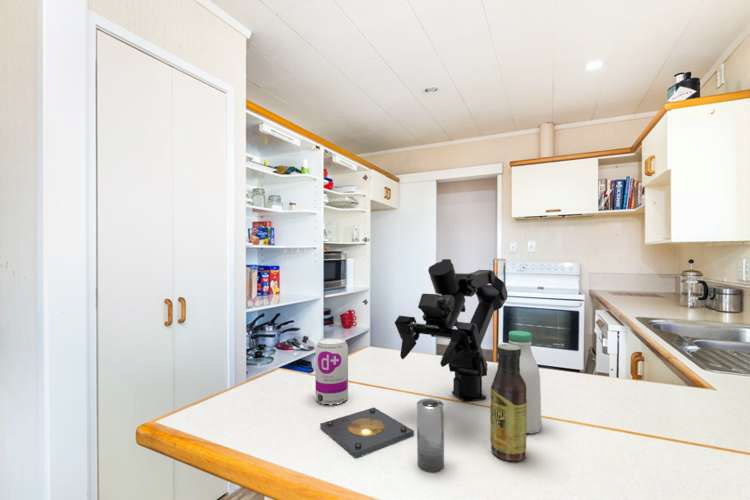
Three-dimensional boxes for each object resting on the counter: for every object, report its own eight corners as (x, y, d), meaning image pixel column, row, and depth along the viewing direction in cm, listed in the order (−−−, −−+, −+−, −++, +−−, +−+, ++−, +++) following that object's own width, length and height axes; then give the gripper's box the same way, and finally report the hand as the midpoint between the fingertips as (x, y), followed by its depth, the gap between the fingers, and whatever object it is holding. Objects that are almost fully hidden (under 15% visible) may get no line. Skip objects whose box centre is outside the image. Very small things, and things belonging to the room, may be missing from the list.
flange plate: (374, 411, 84) (374, 405, 84) (413, 435, 72) (413, 428, 72) (320, 428, 76) (320, 421, 76) (355, 458, 64) (355, 450, 64)
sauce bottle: (485, 445, 68) (483, 341, 69) (516, 444, 69) (515, 340, 69) (500, 465, 62) (498, 350, 62) (534, 463, 62) (532, 349, 63)
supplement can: (342, 407, 86) (342, 345, 86) (310, 405, 88) (310, 343, 88) (351, 395, 94) (351, 338, 94) (322, 392, 96) (322, 336, 96)
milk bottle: (539, 421, 79) (537, 330, 79) (543, 437, 71) (541, 337, 72) (501, 416, 81) (500, 327, 82) (502, 431, 74) (501, 334, 74)
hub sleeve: (435, 455, 65) (435, 396, 65) (449, 469, 61) (448, 406, 61) (413, 460, 64) (412, 400, 64) (425, 474, 59) (424, 410, 60)
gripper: (402, 281, 85) (370, 327, 74) (479, 284, 74) (454, 338, 64) (415, 316, 90) (387, 364, 79) (489, 324, 79) (468, 380, 68)
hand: (420, 361), depth 73 cm, fingers open, 9 cm apart
